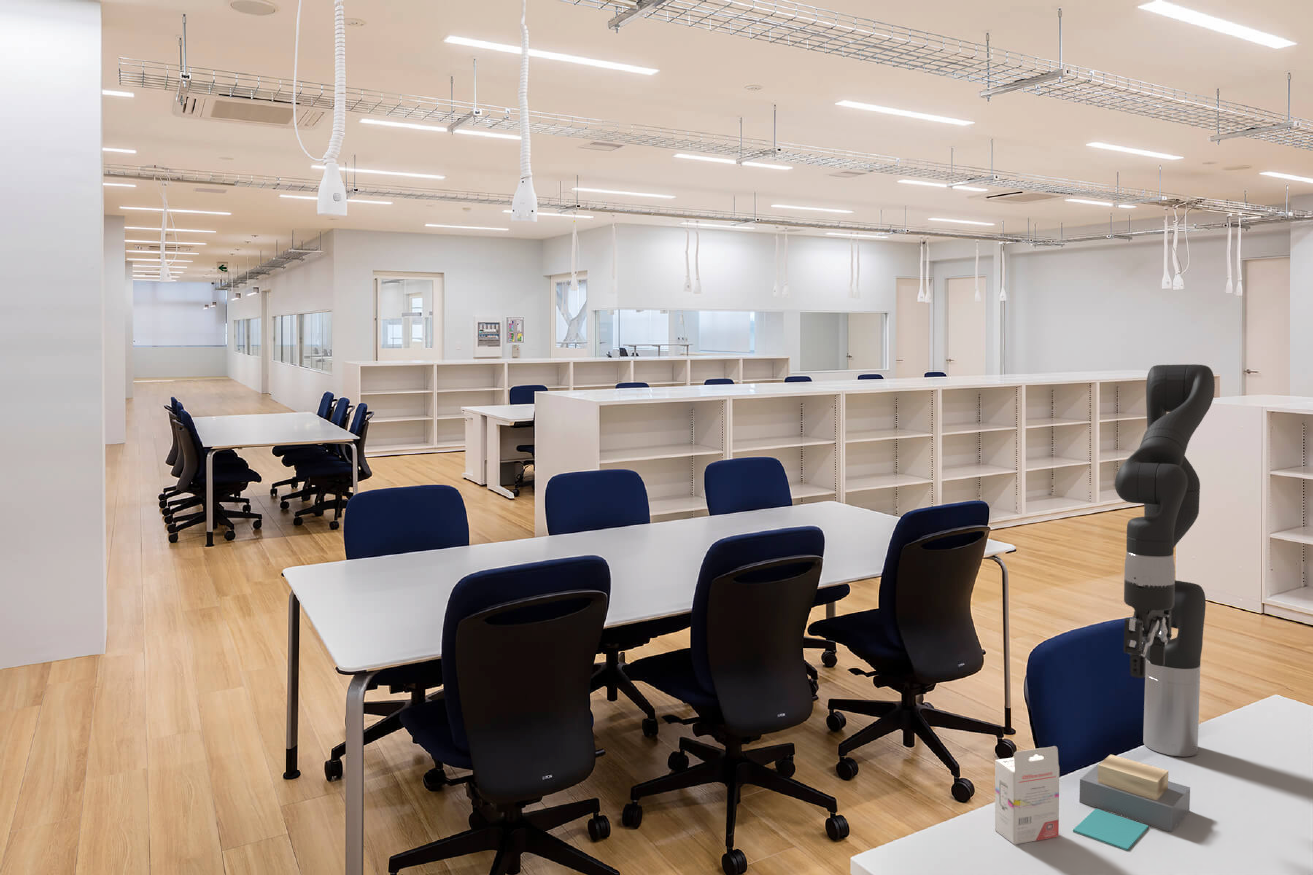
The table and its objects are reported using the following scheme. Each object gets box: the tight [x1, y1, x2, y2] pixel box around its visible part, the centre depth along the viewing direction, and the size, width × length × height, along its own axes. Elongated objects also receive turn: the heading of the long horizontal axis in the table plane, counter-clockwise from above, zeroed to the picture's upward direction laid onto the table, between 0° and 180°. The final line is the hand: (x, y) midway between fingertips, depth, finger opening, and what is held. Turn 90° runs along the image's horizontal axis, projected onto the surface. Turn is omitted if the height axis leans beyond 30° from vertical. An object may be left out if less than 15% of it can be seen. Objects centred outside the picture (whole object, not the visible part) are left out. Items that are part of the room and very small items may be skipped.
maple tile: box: [1097, 754, 1169, 800], centre depth 144 cm, size 6×9×3 cm, turn 44°
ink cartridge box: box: [994, 745, 1060, 845], centre depth 136 cm, size 9×5×15 cm, turn 105°
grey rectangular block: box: [1079, 761, 1191, 833], centre depth 145 cm, size 10×14×4 cm
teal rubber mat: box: [1072, 808, 1149, 852], centre depth 138 cm, size 10×8×1 cm
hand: (1147, 670), depth 148 cm, fingers open, 8 cm apart
